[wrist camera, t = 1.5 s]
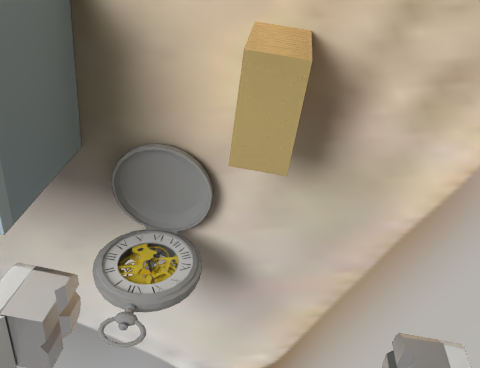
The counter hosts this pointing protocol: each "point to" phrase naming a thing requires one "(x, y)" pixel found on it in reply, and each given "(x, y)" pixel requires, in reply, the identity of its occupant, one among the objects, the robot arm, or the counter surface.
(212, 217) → the counter surface
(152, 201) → the pocket watch
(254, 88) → the tan wooden block
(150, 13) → the counter surface
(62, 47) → the blue grey rectangular container
